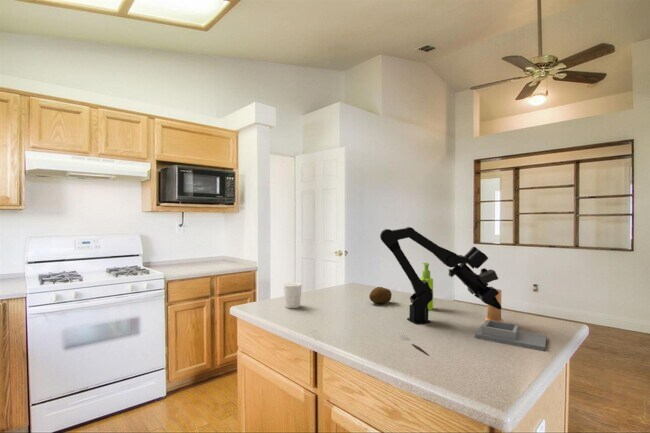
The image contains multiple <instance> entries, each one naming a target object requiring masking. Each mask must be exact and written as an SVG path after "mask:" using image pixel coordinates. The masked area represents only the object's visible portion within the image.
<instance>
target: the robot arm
mask: <svg viewBox="0 0 650 433" xmlns="http://www.w3.org/2000/svg"><path fill="white" fill-rule="evenodd" d="M379 238H380V240H381V242H382V243H383V244H384V245H385V246H386V247H387V248H388V250H389V251H390V252H391V253H392V255H393V256H394V258H395V259H396V260H397V262H398V264H399V266H400V267H401V269H402V271H403V272H404V273H405V275H406V277H407V279H408V280H409V281H410V284H411V286H412V289H413V292H414V293H413V294H412V295H410V297H409V300H410V303H411V304H409V317H407V318H406V320H408V321H409V322H412V323H413V324H416V325H420V324H429V323H431V320H429V310H428V303H429V302H431V300H432V299H433V300H434V293H433V294H432V292H431V291H433V292H434V289H433V290H432V289H431V288H430V287H429V285H428V282H427V281H426V280H425V279H424V280H422V281H421V280H420V278H421V277H419V276H418V273H417V272H416V271H415V269H414V267H413V265H412V264H411V262H410V261H409V259H408V257H407V256H406V254H405V253H404V251H403V250H402V248H401V245H400V242H399V241H400V240H403V239H408V238H409V239H411V240H412V241H414V242H415V243H416V244H418V245H419V246H421V247H423V248H424V249H426V250H427V251H428V252H430V253H432V254H433V255H434V256H435V257H436V259H438V260H439V261H440V262H441V263H442V264H443V265H444V266H446V267H448V276H449V277H450V278H453V277H454V276H456V277H457V278H458V279H459V280H460V282H461V283H462V284H464V285H465V286H466V287H467V291H468V292H469V293H470V294H471V295H474V297H475V298H477V299H479V300H480V301H481V302H482V303H484V304H485V305H487V304H488V305H491V306H493V307H495V308H497V309H501V310H502V309H503V307H502V304H501V305H500V304H499V302H498V300H497V299H496V297H495V296H497V295H498V294H499V292H498V291H497V290H496V289H497V288H495V287H493V286H489V283H491V282H493V281H498V280H499V277H498V274H497V273H496V270H494V269H491V268H490V269H487V268H485V267H484V268H481V267H482V265H483V264H485V262H487V261H488V260H489V257H488V256H487V255H486V254H485V253H484V252H482V251H481V250H480V249H479V248H478V247H476V246H473V247H471V248H470V250H469V251H468V252H466V254H465V255H462V254H457V253H456V252H453V251H452V250H448V249H447V248H444V247H442V246H440V245H438V244H437V243H435V242H433V241H432V240H431V239H429V238H428V237H426V236H425V235H423V234H421V233H420V232H418V231H417V230H415V228H414V227H411V226H407V227H404V228H400V229H399V228H398V229H392V230H391V229H389V228H385V229H382V230H381V232H380V234H379ZM450 268H451V269H450ZM479 268H481V269H480V273H479V274H477V273H476V272H474V269H479ZM472 269H473V270H472Z"/></svg>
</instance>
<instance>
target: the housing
mask: <svg viewBox="0 0 650 433" xmlns="http://www.w3.org/2000/svg"><path fill="white" fill-rule="evenodd" d="M474 338H476V339H480V340H486V341H490V342H494V343H500V344H506V345H512V346H517V347H522V348H526V349H532V350H538V351H544V352H545V351H546V346H547V345H546V344H547V334H542V333H535V332H529V331H523V330H520V324H518V323H512V322H506V321H503V322H500V321H494V320H488V319H487V321H486V322H484V323H483V324H481V325H480V326H479V328H477V330H476V332H475V333H474Z"/></svg>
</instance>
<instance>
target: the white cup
mask: <svg viewBox="0 0 650 433" xmlns="http://www.w3.org/2000/svg"><path fill="white" fill-rule="evenodd" d="M302 285H303V284H302V283H300V282H286V283H283V292H284V293H283V295H284V307H285V308H287V309H296V308H300V307H301V299H302V298H301V297H302Z"/></svg>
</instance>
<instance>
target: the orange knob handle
mask: <svg viewBox="0 0 650 433" xmlns="http://www.w3.org/2000/svg"><path fill="white" fill-rule="evenodd" d="M495 289H496V290H497V291H498V292H499V294H498V295H497V296H495V297H496V299H497V300H498V302H499V304H500V305H501V306H502V290H501V289H498V288H495ZM486 307H487V308H486V311H487V312H486V314H487V315H486V316H485V322H486V321H487V319H488V320H494V321H500V322H504V319H503V318H502V308H501V309H497V308H495V307H493V306H491V305H488V304H486ZM485 322H484V323H485Z"/></svg>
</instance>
